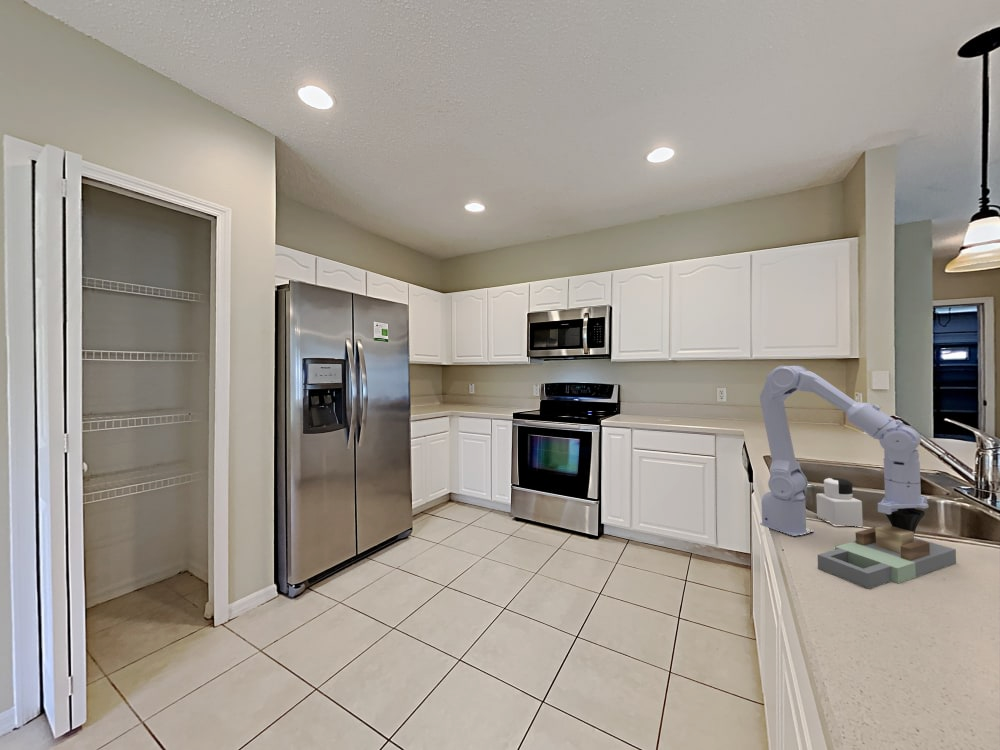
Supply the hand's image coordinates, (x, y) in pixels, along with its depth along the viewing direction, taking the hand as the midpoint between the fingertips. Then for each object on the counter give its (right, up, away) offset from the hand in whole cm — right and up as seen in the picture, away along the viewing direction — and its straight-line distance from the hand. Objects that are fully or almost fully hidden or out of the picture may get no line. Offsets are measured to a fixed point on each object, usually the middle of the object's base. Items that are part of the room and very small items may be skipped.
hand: (904, 540), depth 89 cm
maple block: (-3, -1, -1) cm, 4 cm away
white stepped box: (+4, -4, +22) cm, 22 cm away
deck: (-7, -4, -3) cm, 8 cm away
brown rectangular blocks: (-4, -1, -2) cm, 5 cm away
